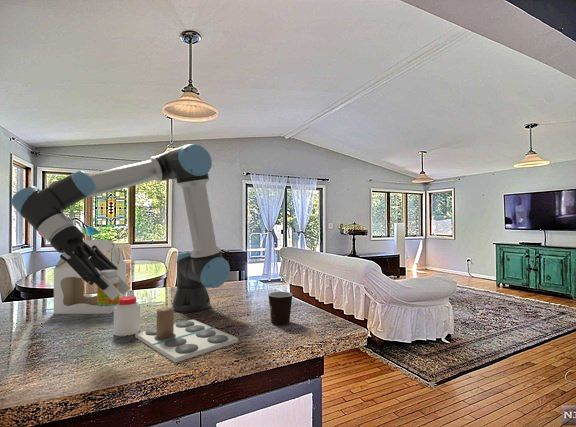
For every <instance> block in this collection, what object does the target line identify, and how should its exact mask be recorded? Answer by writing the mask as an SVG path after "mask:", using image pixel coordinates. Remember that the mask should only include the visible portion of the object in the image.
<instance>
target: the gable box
mask: <svg viewBox="0 0 576 427" xmlns="http://www.w3.org/2000/svg"><path fill="white" fill-rule="evenodd" d="M83 242H85V243H86V244H88V245H89V246H90V247H92V246H93V245H95V246H97V248H98V249H99V250H100V251H101V252H102V253H103V252H108V253H111V255H110V259H111V260H110V261H111V262H112V263H113V264H114V265H115V266H116V267H117V268H118V270H117V274H118V275H119V276H120V277H121V278H122V279H123V280H124V281H125V282H126V283H127V263H126V261H125V260H124V259H123V257H122V255H121V253H120V248H119V247H115V242H113V240H111V239H108V240H107V239H96V240H94V239H93V240H92V239H91V240H90V239H83ZM70 259H71V258H70ZM96 270H97V271H98V272H99V274H100V272H101V271H99V270H98V269H97V268H96ZM100 278H101V276H100ZM84 291H85V287H84V283H83V279H82V278H81V276H80V275H79V274H78V273H77V272H76V271H75V270H74V269H73V268H72V267H71V266H70V265H69V264H68V263H67V262H66V261H64V260H63V259H62V258H60V259H59V261H58V262H57V264H56V265H55V267H54V269H53V315H91V314H92V315H93V314H95V315H100V314H101V315H104V314H105V315H106V314H108V315H109V314H110V315H111V314H112V313H113V314H114V307H112V308H98V307H97V295H94V296H90V297H87V296H85V295H84ZM125 296H127V293H126V294H124V295H123V294H122V293H120V294H119V298H120V297H125Z"/></svg>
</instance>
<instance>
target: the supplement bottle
mask: <svg viewBox="0 0 576 427" xmlns="http://www.w3.org/2000/svg"><path fill="white" fill-rule="evenodd" d="M100 275H101V277H102V276H103V275H104V276H105V277H106V278H107V279H108V280H109V281H110V282H111V283H112V284H113V285H114V286H115V287H116V288H117V289H118V290H119V279H118V278H117V277H116V275H117V270H103V271H101V272H100ZM96 288H97V291H96V292H97V293H96V296H97V307H98V308H112V307H116V306H118V305H119V295H118V296H117V297H116V298H115V299H114V300H111V299H110V298H109V297H108V296H107V295H106V294H105V293H104V292H103V291H102V290H101V289H100V288H99V287H98V286H97V285H96Z"/></svg>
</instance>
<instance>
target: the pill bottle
mask: <svg viewBox="0 0 576 427" xmlns="http://www.w3.org/2000/svg"><path fill="white" fill-rule="evenodd" d="M139 332H141V304H140V303H139V302H137V296H134V295H128V296H127V295H126V296H125V297H120V298H119V305H118V306H116V307H114V312H113V332H112V333H113V335H114V336H115V337H116V336H117V337H126V336H127V335H128V336H131V335H135V333H139Z"/></svg>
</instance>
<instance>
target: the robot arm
mask: <svg viewBox="0 0 576 427" xmlns="http://www.w3.org/2000/svg"><path fill="white" fill-rule="evenodd" d="M212 160H213V159H212V157H211V155H210V152H209V151H208V150H207V148H205V147H203V146H202V145H200V144H197V143H191V144H189V143H188V144H184V145H181V146H180V147H176V148H173V149H171V150H168V151H166V152H164V153H161V154H158V155H155V156H154V155H153V156H151V157H149V159H148V160H146V161H145V160H144V161H141V162H136V163H131V164H126V165H122V166H118V167H114V168H110V169H104V170H102V171H96V172H92V173H86V171H84V170H78V171H76V172H74V173H71V174H69V175H68V176H66V177H64V178H62V179H58V180H56V181H52V182H50V184H49V185H48V187H46V188H44V189H40V188H39V187H37V186H28V187H24V188H21V189H20V190H18V191H17V192H16V193H15V194H14V195H13V196H12V198H11V206H12V207H13V208H14V209H15V210H16V211H17V213H19V215H20V216H21V217H22V218H23V219H24V220H25V221H26V222H28V223H29V224H30V225H31V227H33V228H34V229H35V231H37V232H38V233H39V235H41V236H42V238H43V240H44V239H45V240H46V241H47V242H48V243H49V244H50V246H51V247H52V248H53V249H55V251H57V253H60V255H59V257H60V259H61V258H62V259H63V260H64V261H66V262H67V263H68V264H69V265H70V266H71V267H72V268H73V269H74V270H75V271H76V272H77V273H78V274H79V275H80V276H81V280H82V281H84V282H86V283H88V284H89V285H90V286H93V284H94V285H96V287H97V286H98V287H99V288H100V289H101V290H102V291H103V292H104V293H105V294H106V295H107V296H108V297H109V298H110V299H111V300H114V299H115V298H116V297H117V296H118V295H119V294H120V293H122V294H123V295H124V294H126V295H127V293H128V292H129V291H130V290H131V289H132V287H131V286H130V285H129V284H128V283H127V281H126V282H125V281H124V280H123V279H122V278H121V277H120V276H119V275H118V274H117V275H116V277H117V278H118V279H119V290H118V289H117V288H116V287H115V286H114V285H113V284H112V283H111V282H110V281H109V280H108V279H107V278H106V277H105V276H104V275H103V276H102V277H101V278H100V276H101V275H100V274H99V272H98V271H97V270H96V268H97V269H98V270H99V271H103V270H118V268H117V267H116V266H115V265H114V264H113V263H112V262H111V260H110V259H109V258H108V257H107V256H106V255H104V253H103V252H101V251H100V250H99V249H98V248H97V246H95V245H93V246H92V247H90V246H89V245H88V244H86V243H85V242H83V240H84V238H85V234H84V232H82V231H81V230H80V229H79V228H78V227H77V226H76V225H75V224H74V222H72V221H71V219H69V217H67V216H66V215H65V214H64V213H63V211H65V210H67V209H69V208H70V207H72V206H74V205H75V204H78V203H79V202H80V201H82V200H84V199H87V198H91V197H92V198H93V197H95V196H99V195H104V194H107V193H111V192H115V191H119V190H122V189H126V188H130V187H133V186H138V185H140V184H141V185H142V184H145V183H148V182H149V183H150V182H153V181H156V182H164V181H167V180H169V181H170V180H176V183H177V185H178V186H179V187H181V188H182V189H181V190H182V193H183V199H184V204H185V210H186V215H187V221H188V226H189V232H190V237H191V242H192V248H193V251H186V252H179V253H178V254H177V256H176V291H175V294H174V297H173V301H172V303H171V304H172V305H171V308H174V312H185V313H188V312H189V313H191V312H193V313H194V312H199V311H204V310H207V309H208V308H210V307H211V300H210V299H211V298H210V296H209V292H208V289H209V288H210V289H216V288H219V287H222V286H223V285H224V284H225V283H226V282H227V279H228V278H229V277H230V272H231V267H230V264H229V262H228V261H227V260H226V259H225V258H224V257H223V253H222V249H221V248H220V247H218V246H217V243H216V242H217V241H216V236H215V230H214V224H213V218H212V213H211V212H212V211H211V207H210V201H209V195H208V189H207V183H208V182H209V181H210V177H209V172H210V170H211V168H212V165H213V162H212ZM70 258H71V259H70ZM207 288H208V289H207Z"/></svg>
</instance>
